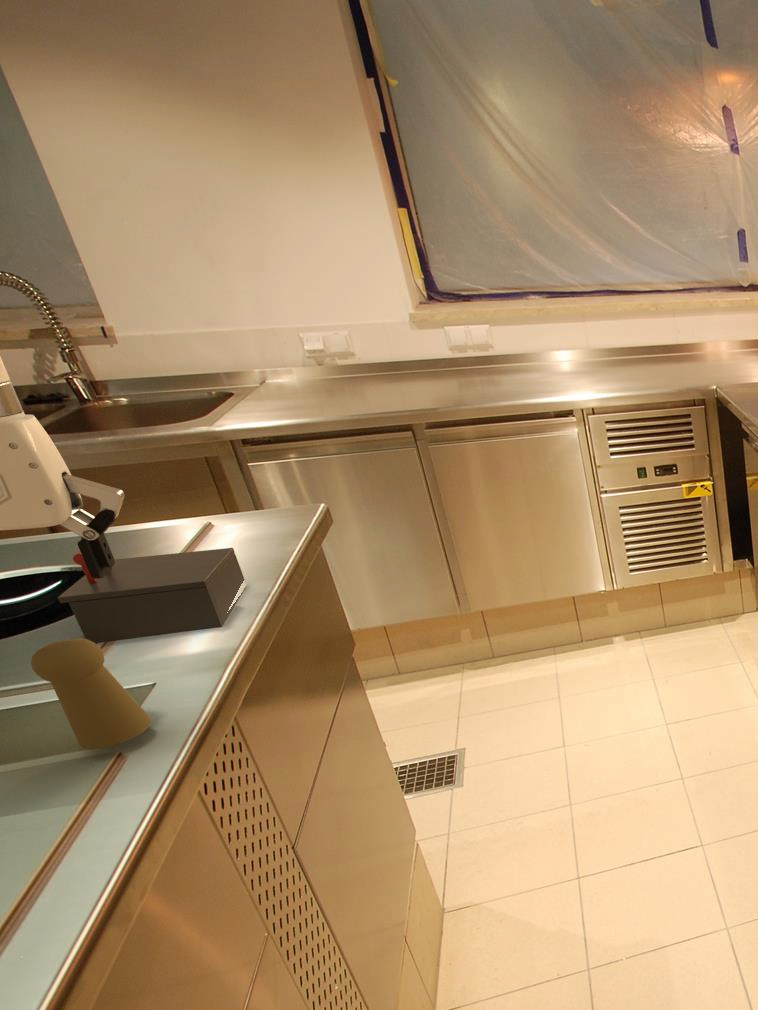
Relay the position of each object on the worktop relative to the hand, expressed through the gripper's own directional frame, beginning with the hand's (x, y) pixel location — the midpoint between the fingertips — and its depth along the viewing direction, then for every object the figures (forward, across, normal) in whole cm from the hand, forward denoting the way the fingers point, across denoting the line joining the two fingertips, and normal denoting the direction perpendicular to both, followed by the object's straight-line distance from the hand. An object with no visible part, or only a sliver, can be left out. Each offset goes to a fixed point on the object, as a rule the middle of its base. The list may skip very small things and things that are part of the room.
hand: (38, 579), depth 83 cm
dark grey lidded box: (+18, -2, +34) cm, 38 cm away
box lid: (+11, -3, +34) cm, 36 cm away
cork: (+18, +1, 0) cm, 18 cm away
